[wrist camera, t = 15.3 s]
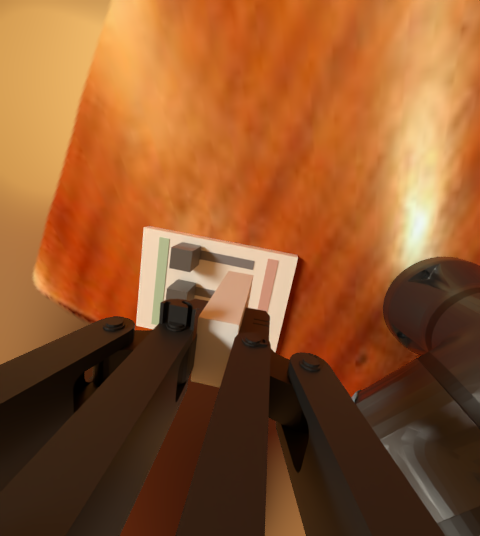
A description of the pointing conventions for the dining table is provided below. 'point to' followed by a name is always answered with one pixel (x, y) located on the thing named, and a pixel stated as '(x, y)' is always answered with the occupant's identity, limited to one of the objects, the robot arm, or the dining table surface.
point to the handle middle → (181, 290)
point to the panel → (214, 274)
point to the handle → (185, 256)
